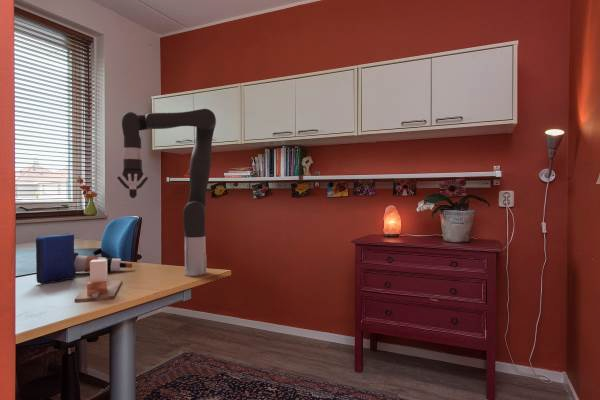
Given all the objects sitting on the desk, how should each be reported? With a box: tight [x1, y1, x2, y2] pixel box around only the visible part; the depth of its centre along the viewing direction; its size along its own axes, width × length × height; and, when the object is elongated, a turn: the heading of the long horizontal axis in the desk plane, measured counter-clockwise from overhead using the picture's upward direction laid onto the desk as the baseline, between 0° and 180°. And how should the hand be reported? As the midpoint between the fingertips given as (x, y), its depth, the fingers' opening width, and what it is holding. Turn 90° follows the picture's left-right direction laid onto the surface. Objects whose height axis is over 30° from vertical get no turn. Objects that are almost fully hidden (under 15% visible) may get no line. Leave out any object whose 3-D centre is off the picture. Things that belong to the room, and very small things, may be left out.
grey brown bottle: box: [74, 252, 133, 273], centre depth 176 cm, size 10×34×10 cm, turn 107°
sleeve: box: [89, 259, 109, 286], centre depth 139 cm, size 5×5×11 cm
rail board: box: [74, 279, 123, 303], centre depth 142 cm, size 12×26×5 cm, turn 20°
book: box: [35, 232, 77, 285], centre depth 159 cm, size 14×5×20 cm, turn 150°
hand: (133, 198), depth 167 cm, fingers closed
